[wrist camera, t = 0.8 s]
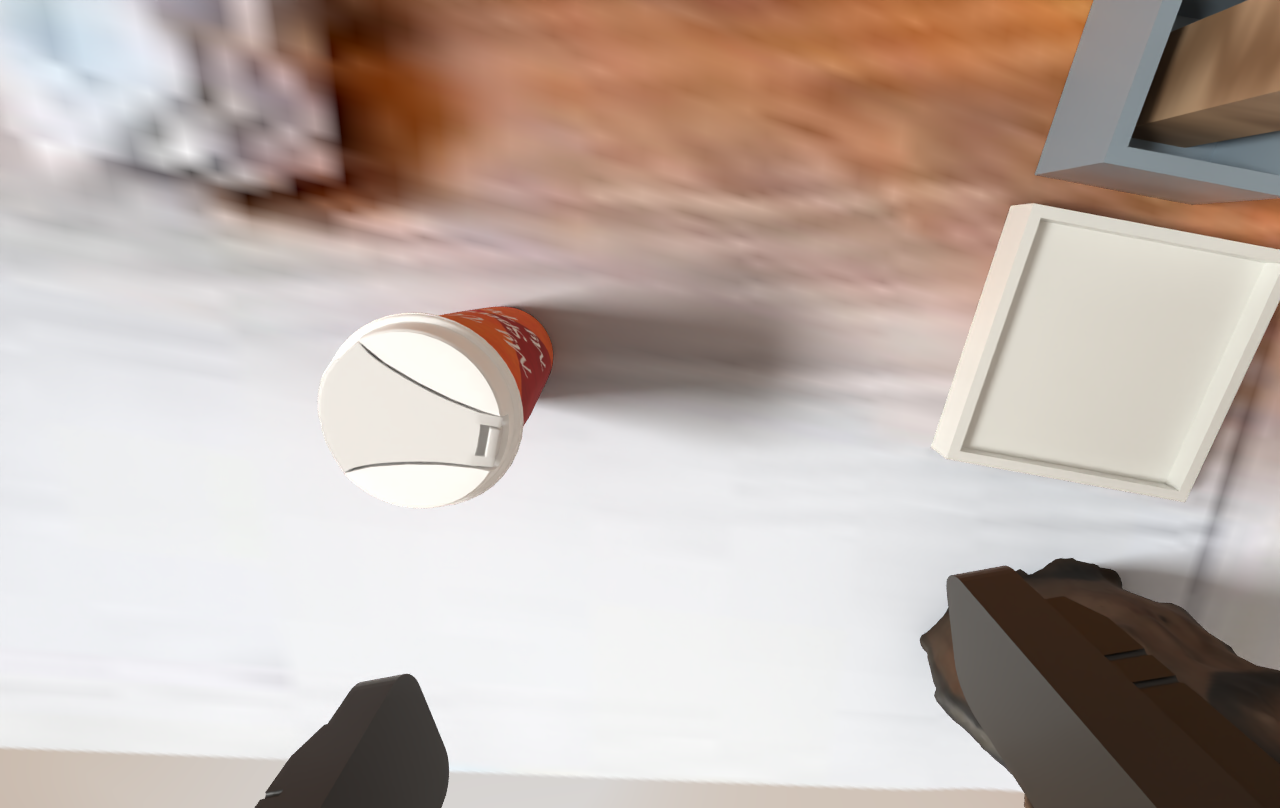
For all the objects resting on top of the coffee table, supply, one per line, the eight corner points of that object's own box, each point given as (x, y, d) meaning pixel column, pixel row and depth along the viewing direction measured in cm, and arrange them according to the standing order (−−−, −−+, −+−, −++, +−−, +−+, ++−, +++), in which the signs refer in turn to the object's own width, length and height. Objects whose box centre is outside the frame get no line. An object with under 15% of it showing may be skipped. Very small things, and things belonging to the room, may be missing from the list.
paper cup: (584, 305, 34) (533, 347, 20) (557, 429, 36) (495, 541, 22) (450, 272, 33) (309, 291, 20) (431, 398, 36) (291, 493, 22)
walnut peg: (1139, 44, 29) (1384, -57, 19) (1219, 60, 29) (1503, -33, 19) (1107, 133, 30) (1323, 79, 20) (1184, 147, 30) (1437, 101, 20)
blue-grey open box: (1096, -10, 29) (1184, -60, 24) (1266, 23, 29) (1386, -20, 24) (1034, 174, 31) (1103, 162, 26) (1192, 204, 31) (1288, 197, 26)
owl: (893, 643, 39) (1121, 1034, 20) (1020, 493, 36) (1437, 783, 17) (1042, 726, 40) (1393, 1170, 21) (1177, 589, 37) (1731, 960, 18)
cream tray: (1010, 205, 32) (1033, 203, 30) (1262, 253, 32) (1301, 253, 30) (930, 447, 35) (946, 459, 33) (1156, 488, 35) (1185, 502, 34)
